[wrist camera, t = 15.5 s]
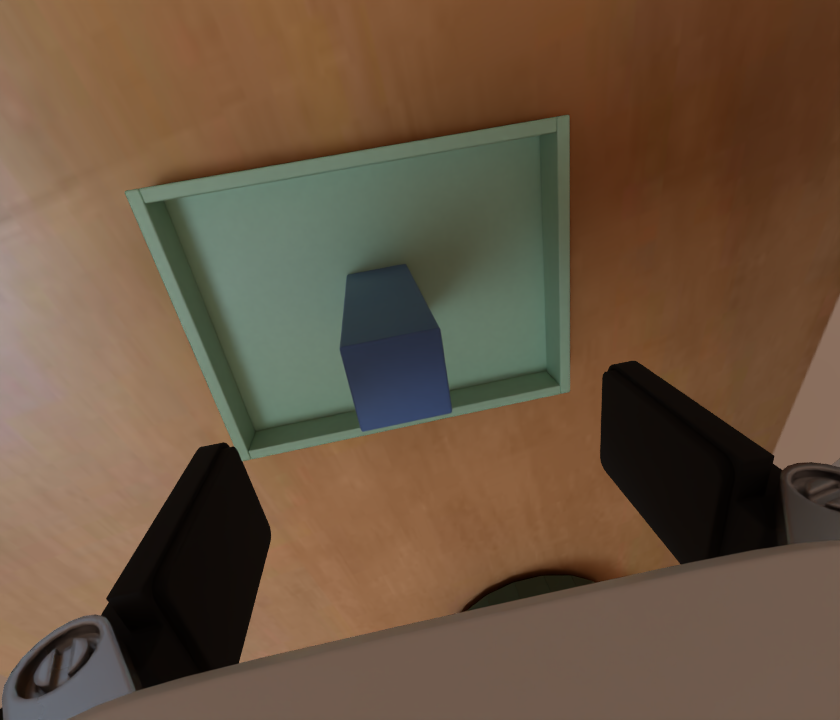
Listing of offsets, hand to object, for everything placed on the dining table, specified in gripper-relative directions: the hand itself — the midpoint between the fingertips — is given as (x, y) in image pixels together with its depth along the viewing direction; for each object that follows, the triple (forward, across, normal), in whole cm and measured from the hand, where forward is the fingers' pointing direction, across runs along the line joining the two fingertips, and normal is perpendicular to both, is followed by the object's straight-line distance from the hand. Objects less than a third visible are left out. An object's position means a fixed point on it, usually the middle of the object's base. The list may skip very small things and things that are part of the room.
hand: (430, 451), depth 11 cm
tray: (+14, +1, 0) cm, 14 cm away
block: (+13, +1, 0) cm, 13 cm away
